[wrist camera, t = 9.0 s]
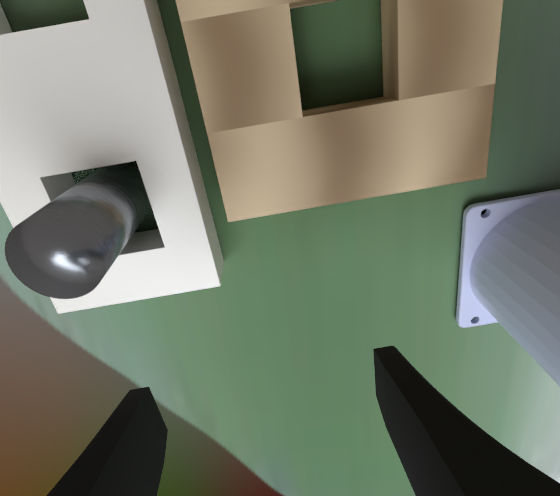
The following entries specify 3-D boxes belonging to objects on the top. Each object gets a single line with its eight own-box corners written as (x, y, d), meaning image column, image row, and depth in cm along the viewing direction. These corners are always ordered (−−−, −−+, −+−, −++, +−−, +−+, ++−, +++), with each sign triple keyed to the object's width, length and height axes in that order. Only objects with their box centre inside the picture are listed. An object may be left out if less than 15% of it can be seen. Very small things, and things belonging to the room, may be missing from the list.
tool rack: (103, -212, 12) (70, -273, 10) (223, 261, 20) (220, 285, 18) (-135, -169, 12) (-220, -220, 10) (79, 286, 20) (58, 313, 18)
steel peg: (144, 158, 18) (86, 211, 11) (159, 217, 19) (115, 293, 13) (81, 166, 18) (-13, 223, 11) (100, 224, 19) (27, 303, 13)
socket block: (485, -157, 14) (521, -191, 12) (463, 166, 19) (486, 177, 17) (160, -99, 14) (146, -123, 12) (230, 207, 19) (228, 222, 17)
